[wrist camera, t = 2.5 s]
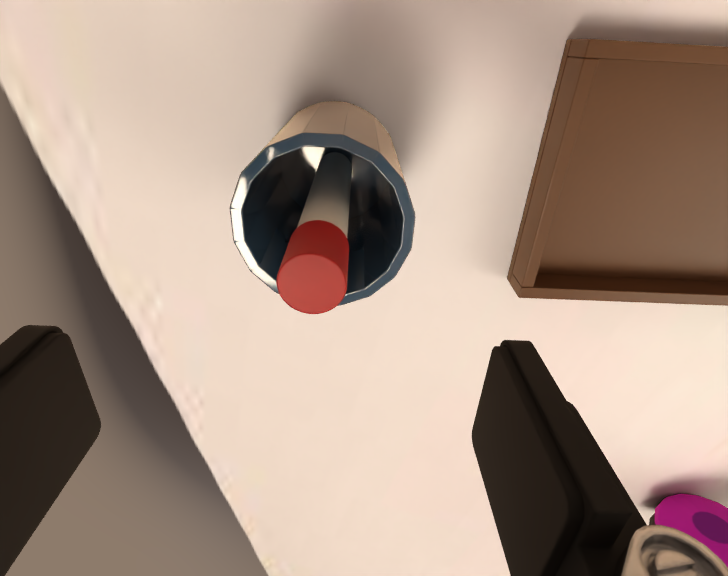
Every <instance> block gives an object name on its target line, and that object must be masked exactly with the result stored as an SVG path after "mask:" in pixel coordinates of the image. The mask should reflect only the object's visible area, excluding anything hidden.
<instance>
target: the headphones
mask: <svg viewBox="0 0 728 576" xmlns="http://www.w3.org/2000/svg"><path fill="white" fill-rule="evenodd" d="M649 525H663V526H667V527H672V528H675V529H677V530H679V531H681V532H684V533H686V534H688V535H690V536H692V537H693V538H695V539H696V540H698V541H699V542H701V543H702V544H704V545H705V546H707V547H708V548H709V549H710V550H711V551H712V552H713V553H714V554H715V555H717V556H718V557H719V558H720V559H721V560H722V561H723V562H724V563H725V565H726V566H727V567H728V508H726V507H725V506H723V505H721V504H720V503H718V502H715V501H712V500H709V499H706V498H704V497H701V496H697V495H689V494H677V495H673V496H669V497H666V498H665V499H663V500H662V501H661V503H660V504H659V505H658V506H657V507H656V508H655V513H654V515H653V516H652V517H651V518H650V522H649Z"/></svg>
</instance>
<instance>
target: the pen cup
mask: <svg viewBox="0 0 728 576" xmlns="http://www.w3.org/2000/svg"><path fill="white" fill-rule="evenodd" d="M332 152H337V153H341V154H343V155H344V156H346V157H347V158H348V159H349V161H350V163H351V166H352V175H351V189H350V204H349V218H348V233H347V240H348V244H349V260H348V278H347V290H346V294H345V296H344V298H343V300H342V301H341V302H340V303H339V304H338V305H337V306H339V305H343V304H347V303H350V302H353V301H356V300H360V299H363V298H366V297H369V296H371V295H372V294H374V293H375V292H376V291H378V290H379V289H380V288H381V287H383V286H384V285H385V284H387V283H388V282H389V281H390V280H392V279H393V278H394V277H395V276H396V275H397V273H398V271H399V270H400V268H401V266H402V264H403V263H404V261H405V259H406V258H407V256H408V254H409V252H410V251H411V248H412V242H413V233H414V224H415V212H414V209H413V205H412V202H411V199H410V196H409V193H408V189H407V186H406V183H405V180H404V177H403V174H402V170H401V167H400V164H399V161H398V158H397V155H396V152H395V149H394V146H393V143H392V140H391V136H390V135H389V133H388V132H387V131H386V129H385V128H384V127H383V125H382V124H381V123H380V122H379V121H378V120H377V119H376V118H375V117H374V116H373V115H372V114H371V113H369V112H368V111H366V110H364V109H363V108H361V107H359V106H356V105H354V104H350V103H347V102H341V101H326V102H320V103H317V104H313V105H311V106H309V107H307V108H305V109H303V110H300V111H299V112H297V113H296V114H295V115H294V116H293V117H292V118H291V119H290V121H289V122H288V123H287V124H286V125H285V126H284V127H283V128H282V129H281V130H280V131H279V132H278V133H277V134H276V135H275V137H274V138H273V139H272V140H271V141H270V142H269V143H268V144H267V145H266V146H265V147H264V148H263V149H262V151H261V152H260V153H259V154H258V155H257V156H256V157H255V158H254V159H253V160H252V161H251V162H250V164H249V165H248V166H247V167H246V168H245V169H244V170H243V171H242V172H241V174H240V176H239V179H238V182H237V186H236V189H235V192H234V195H233V198H232V201H231V204H230V215H231V224H232V232H233V240H234V243H235V245H236V247H237V248H238V250H239V252H240V254H241V255H242V257H243V259H244V261H245V263H246V264H247V266H248V268H249V270H250V271H251V272H252V273H253V274H254V275H255V276H257V277H258V278H259V279H260V280H261V281H263V282H264V283H265V284H266V285H267V286H269V287H270V288H271V289H272V290H273V291H274V292H276V293H278V294H279V291H278V288H277V274H278V271H279V268H280V266H281V263H282V260H283V257H284V254H285V252H286V249H287V246H288V243H289V241H290V238H291V235H292V234H293V232H294V231H295V229H296V228H297V226H298V223H299V220H300V218H301V215H302V212H303V209H304V206H305V203H306V200H307V197H308V194H309V191H310V189H311V186H312V183H313V180H314V177H315V174H316V171H317V168H318V165H319V162H320V160H321V159H322V158H323V157H324V156H325V155H326V154H328V153H332Z"/></svg>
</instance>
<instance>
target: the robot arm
mask: <svg viewBox="0 0 728 576" xmlns="http://www.w3.org/2000/svg"><path fill="white" fill-rule="evenodd" d="M100 428H101V421H100V418H99V415H98V413H97V410H96V407H95V404H94V401H93V399H92V396H91V393H90V391H89V388H88V385H87V383H86V380H85V377H84V374H83V372H82V369H81V366H80V363H79V361H78V358H77V356H76V353H75V350H74V347H73V344H72V342H71V339H70V337H69V336H68V335H67V334H65V333H63V332H62V330H61V329H60V328H59V327H56V326H38V325H37V326H36V325H28V326H24V327H22V328H20V329H19V330H18V331H17V332H15V333H14V334H13V335H12V336H10V337H9V338H8V339H7V340H5V342H3V343H2V344H1V345H0V576H5V574H6V573H7V571H8V570H9V568H10V567H11V565H12V564H13V562H14V561H15V559H16V558H17V556H18V555H19V554H20V552H21V551H22V549H23V547H24V546H25V545H26V543H27V541H28V540H29V539H30V537H31V536H32V534H33V532H34V531H35V530H36V528H37V527H38V525H39V523H40V522H41V520H42V519H43V518H44V516H45V515H46V513H47V512H48V510H49V508H50V507H51V506H52V504H53V503H54V501H55V500H56V498H57V497H58V495H59V494H60V492H61V491H62V489H63V488H64V486H65V485H66V483H67V482H68V480H69V479H70V477H71V476H72V474H73V473H74V471H75V470H76V468H77V467H78V465H79V464H80V462H81V461H82V459H83V458H84V456H85V455H86V453H87V452H88V450H89V449H90V447H91V446H92V445H93V443H94V441H95V440H96V439H97V437H98V435H99V432H100ZM472 442H473V447H474V451H475V454H476V457H477V461H478V464H479V468H480V471H481V475H482V478H483V481H484V485H485V488H486V492H487V495H488V499H489V502H490V506H491V509H492V512H493V516H494V519H495V523H496V526H497V530H498V533H499V537H500V540H501V543H502V547H503V550H504V554H505V557H506V561H507V564H508V567H509V571H510V574H511V576H728V567H727V566H726V565H725V563H724V562H723V561H722V560H721V559H720V558H719V557H718V556H717V555H715V554H714V553H713V552H712V551H711V550H710V549H709V548H708V547H707V546H705V545H704V544H702V543H701V542H699V541H698V540H696V539H695V538H693V537H692V536H690V535H688V534H686V533H684V532H681V531H679V530H677V529H675V528H672V527H667V526H663V525H646V523H645V521H644V520H643V518H642V517H641V515H640V513H639V512H638V510H637V508H636V507H635V505H634V503H633V502H632V500H631V498H630V497H629V495H628V493H627V492H626V490H625V488H624V487H623V485H622V484H621V482H620V480H619V479H618V477H617V475H616V474H615V472H614V470H613V469H612V467H611V465H610V464H609V462H608V460H607V459H606V457H605V456H604V454H603V452H602V451H601V449H600V447H599V446H598V444H597V442H596V441H595V439H594V437H593V436H592V434H591V432H590V431H589V429H588V427H587V426H586V424H585V423H584V421H583V419H582V418H581V416H580V414H579V413H578V411H577V410H576V408H575V407H574V406H573V404H571V403H569V402H568V401H566V399H565V398H564V396H563V394H562V393H561V391H560V389H559V388H558V386H557V384H556V382H555V381H554V379H553V377H552V376H551V374H550V372H549V371H548V369H547V367H546V366H545V364H544V362H543V361H542V359H541V357H540V355H539V354H538V352H537V350H536V349H535V347H534V345H533V344H532V343H531V342H530V341H516V340H504V341H502V343H501V345H500V346H495V347H494V348H493V350H492V353H491V357H490V361H489V365H488V369H487V373H486V377H485V381H484V385H483V389H482V393H481V397H480V401H479V405H478V409H477V413H476V417H475V421H474V425H473V429H472Z"/></svg>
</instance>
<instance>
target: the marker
mask: <svg viewBox="0 0 728 576" xmlns="http://www.w3.org/2000/svg"><path fill="white" fill-rule="evenodd" d="M351 175H352V166H351V163H350V161H349V159H348V158H347V157H346V156H344V155H343V154H341V153H337V152H332V153H328V154H326V155H325V156H324V157H323V158H322V159H321V160H320V162H319V165H318V168H317V171H316V174H315V177H314V180H313V183H312V186H311V189H310V191H309V194H308V197H307V200H306V203H305V206H304V209H303V212H302V215H301V218H300V220H299V223H298V226H297V228H296V229H295V231H294V232H293V234H292V235H291V238H290V241H289V243H288V246H287V249H286V252H285V254H284V257H283V260H282V263H281V266H280V268H279V271H278V274H277V288H278V291H279V294H280V296H281V297H282V299H283V300H284V301H285V302H286V303H287V304H288V305H289V306H290V307H292V308H294V309H295V310H297V311H300V312H303V313H308V314H319V313H324V312H327V311H329V310H331V309H333V308H335V307H336V306H337V305H338V304H339V303H340V302H341V301H342V300H343V298H344V296H345V294H346V290H347V278H348V260H349V244H348V240H347V233H348V218H349V204H350V189H351Z"/></svg>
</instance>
